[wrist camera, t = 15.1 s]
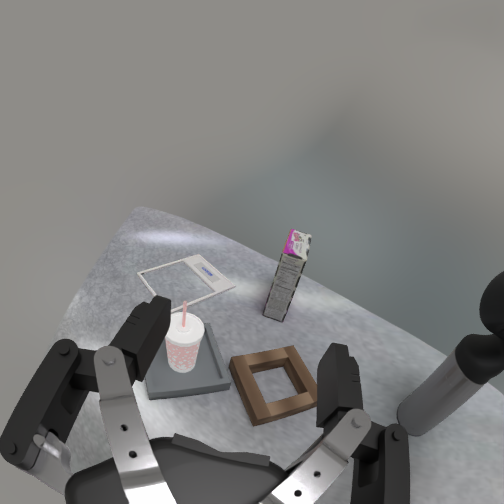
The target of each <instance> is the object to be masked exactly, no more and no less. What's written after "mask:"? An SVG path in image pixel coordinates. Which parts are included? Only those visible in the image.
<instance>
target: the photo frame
mask: <svg viewBox="0 0 504 504" xmlns="http://www.w3.org/2000/svg"><path fill="white" fill-rule="evenodd" d="M182 262H184V263H185V264H186V265H187V266H188V267H189V268H190V269H191V270H192V271H193V272H194V273H195V274H196V275H197V276H198V277H199V278H200V279H201V280H202V281H203V282H204V283H205V284H206V285H207V286H208V287H209V288H211V289H212V290H213V291H214V293H211V294H209V295H206V296H204V297H202V298H199V299H197V300H194V301H192V302H189V303H187V308H188V307H190V306H192V305H195V304H197V303H200V302H202V301H204V300H207V299H209V298H211V297H214V296H216V295H218V294H221V293H223V292H225V291H228V290H230V289H232V288H235V285H234V284H233V283H232V282H230V281H229V280H228V279H227V278H226V277H225V276H224V275H222V274H221V273H220V272H219V271H218V270H217V269H215V268H214V267H213V266H212V265H211V264H210V263H209V262H207V261H206V260H205V259H204V258H203V257H202V256H201V255H199V254H197V255H194V256H191V257H187V258H184V259H181V260H177V261H174V262H171V263H167V264H164V265H161V266H158V267H154V268H151V269H148V270H144V271H141V272H138V273H137V275H138V277H139V278H140V280H141V281H142V282H143V284H144V285H145V286H146V288H147V289H148V290H149V292H150V293H151V294H152V295H153V297H154V296H155V295H157V294H156V293H155V292H154V291H153V289H152V288H151V287H150V285H149V284H148V283H147V282H146V280H145V279H144V278H143V276H142V275H141V273H144V274H146V273H150V272H153V271H156V270H159V269H162V268H166V267H169V266H172V265H175V264H178V263H182ZM180 310H183V305H182V306H179V307H177V308H174V309H172V310H171V314H173V313H175V312H178V311H180Z"/></svg>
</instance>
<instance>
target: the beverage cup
mask: <svg viewBox="0 0 504 504" xmlns="http://www.w3.org/2000/svg"><path fill="white" fill-rule="evenodd" d="M186 308H187V301H184V302H183V312H178V313H174V314H171V323H170V327H169V330H168V332H167V334H166V336H165V340H166V349H167V356H168V363H169V365H170V367H171V368H172V369H173V370H174V371H177V372H180V373H186V372H189V371H191V370H192V369H193V368H194V366H195V363H196V358H197V354H198V350H199V345H200V341H201V340H202V337H203V335H204V324H203V323H202V321H201V320H200V319H199V318H198V317H196V316H195V315H193V314H190V313H187V312H186Z"/></svg>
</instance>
